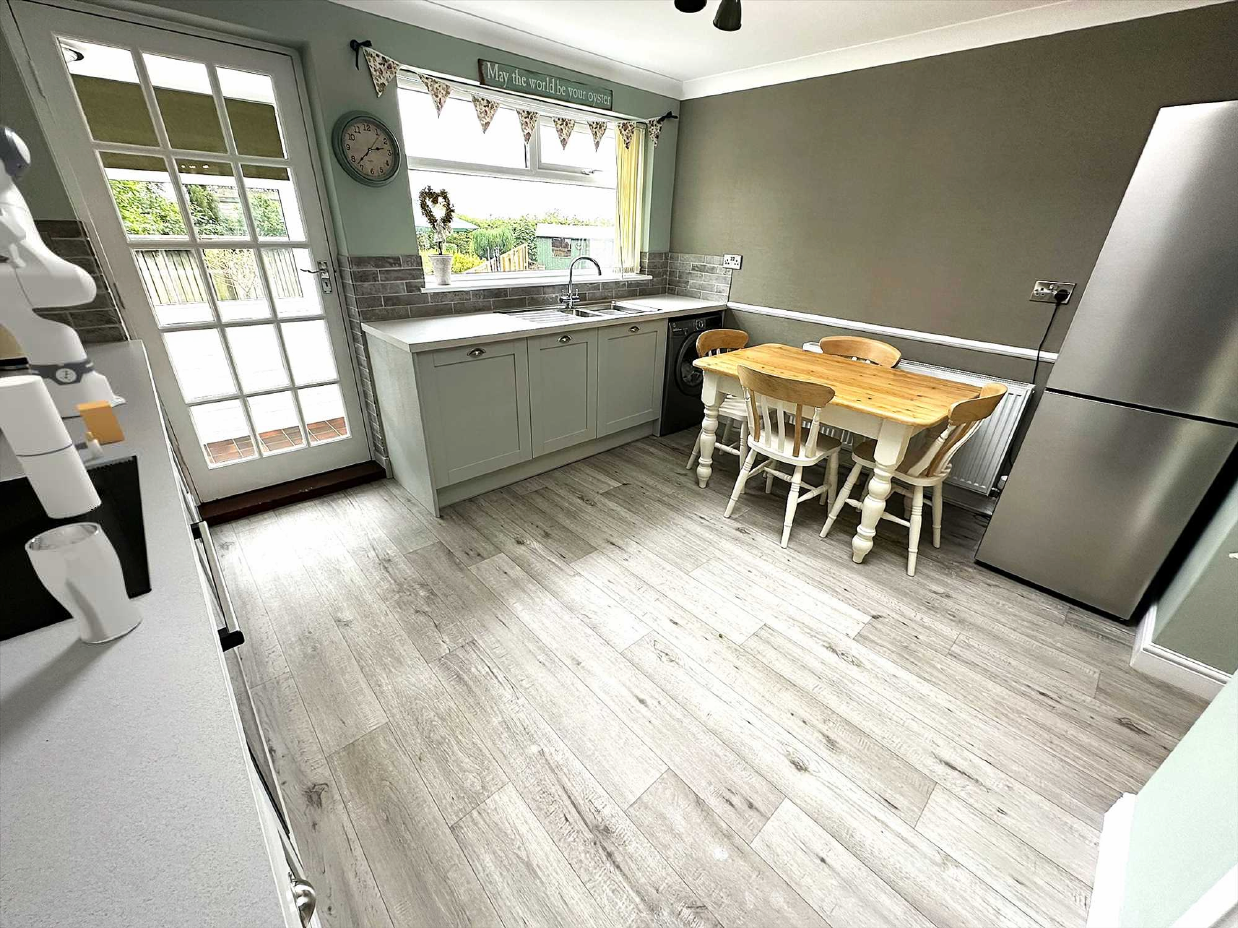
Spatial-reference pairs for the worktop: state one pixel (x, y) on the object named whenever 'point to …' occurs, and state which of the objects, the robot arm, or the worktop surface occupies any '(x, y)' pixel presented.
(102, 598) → the beer glass
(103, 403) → the orange rectangular block
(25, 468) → the cylindrical container
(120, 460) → the plate
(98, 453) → the tan-tipped white capsule
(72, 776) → the worktop surface
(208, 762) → the worktop surface
